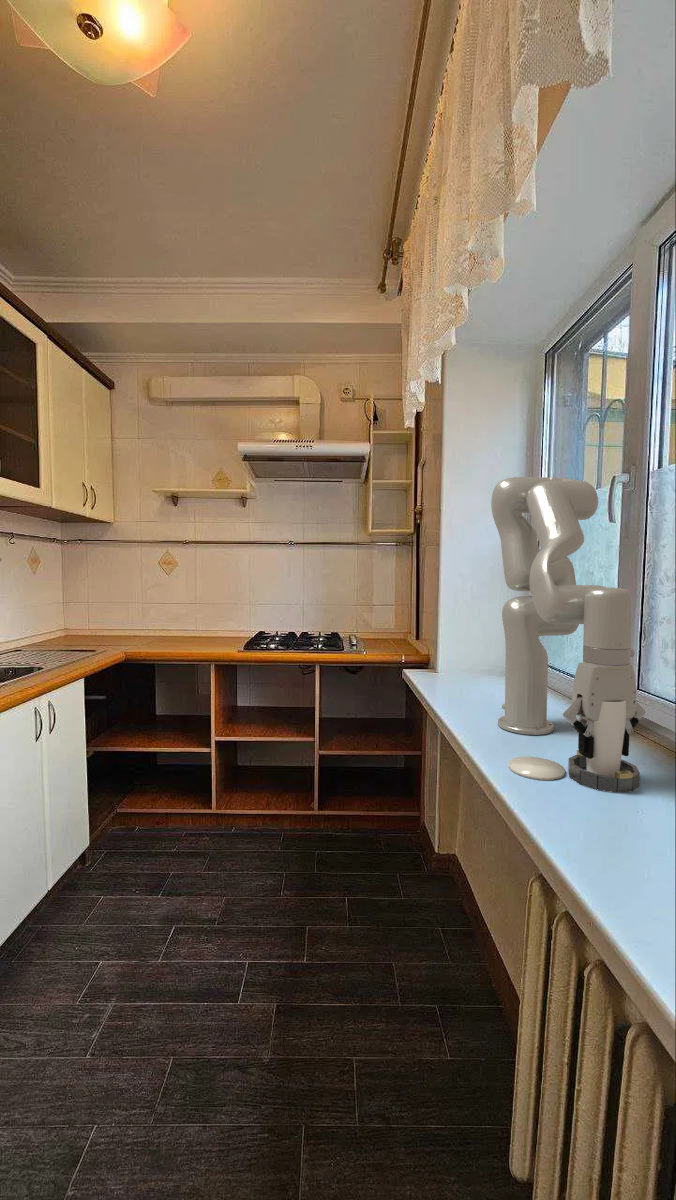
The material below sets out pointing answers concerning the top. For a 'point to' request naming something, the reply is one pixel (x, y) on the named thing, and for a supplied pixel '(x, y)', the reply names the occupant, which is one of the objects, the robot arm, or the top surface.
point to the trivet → (536, 768)
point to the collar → (604, 776)
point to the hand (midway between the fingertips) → (603, 753)
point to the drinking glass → (608, 739)
